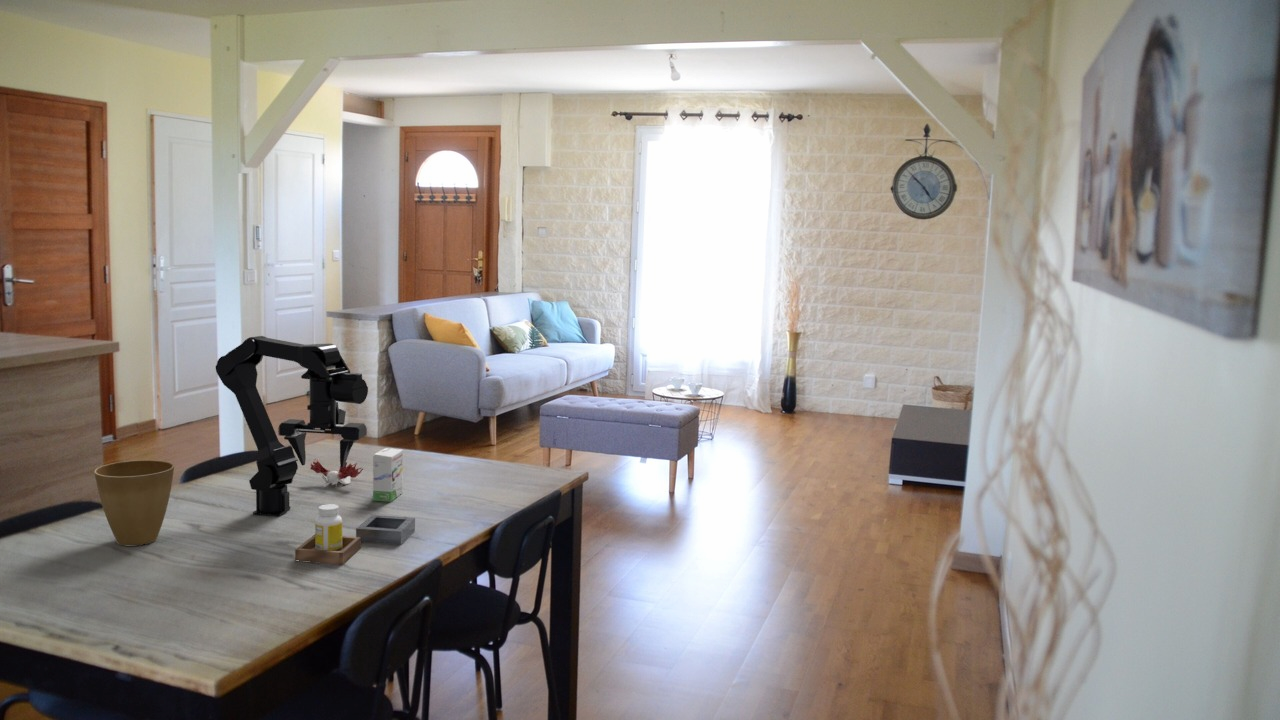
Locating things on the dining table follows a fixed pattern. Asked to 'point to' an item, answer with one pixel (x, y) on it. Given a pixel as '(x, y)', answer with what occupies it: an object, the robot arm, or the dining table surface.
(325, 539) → the supplement bottle
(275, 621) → the dining table surface
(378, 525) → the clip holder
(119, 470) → the plant pot
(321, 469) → the figurine
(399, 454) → the ink box
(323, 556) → the walnut tray
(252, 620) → the dining table surface
